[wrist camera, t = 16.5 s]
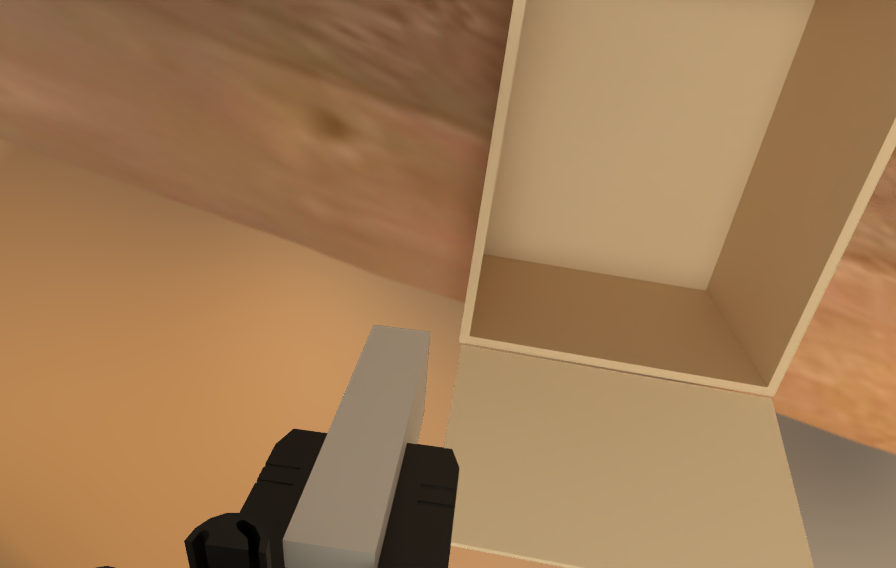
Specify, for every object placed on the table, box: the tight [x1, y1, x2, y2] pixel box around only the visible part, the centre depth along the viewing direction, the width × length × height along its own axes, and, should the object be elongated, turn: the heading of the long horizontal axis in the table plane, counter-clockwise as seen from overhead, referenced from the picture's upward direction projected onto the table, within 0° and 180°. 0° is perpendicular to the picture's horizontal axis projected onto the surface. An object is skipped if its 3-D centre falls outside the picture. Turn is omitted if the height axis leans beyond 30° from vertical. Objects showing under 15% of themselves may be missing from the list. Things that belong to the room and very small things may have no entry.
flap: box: [444, 345, 814, 568], centre depth 32 cm, size 12×20×1 cm
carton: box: [459, 0, 896, 397], centre depth 37 cm, size 24×20×14 cm
